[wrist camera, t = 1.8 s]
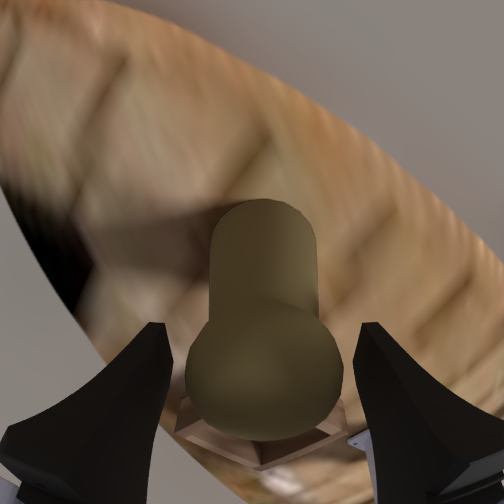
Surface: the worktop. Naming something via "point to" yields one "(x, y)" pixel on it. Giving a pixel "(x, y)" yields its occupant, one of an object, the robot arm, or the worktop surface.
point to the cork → (263, 329)
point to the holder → (259, 452)
